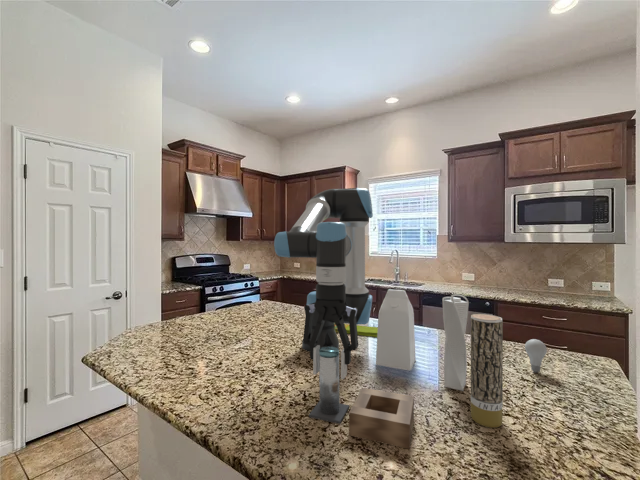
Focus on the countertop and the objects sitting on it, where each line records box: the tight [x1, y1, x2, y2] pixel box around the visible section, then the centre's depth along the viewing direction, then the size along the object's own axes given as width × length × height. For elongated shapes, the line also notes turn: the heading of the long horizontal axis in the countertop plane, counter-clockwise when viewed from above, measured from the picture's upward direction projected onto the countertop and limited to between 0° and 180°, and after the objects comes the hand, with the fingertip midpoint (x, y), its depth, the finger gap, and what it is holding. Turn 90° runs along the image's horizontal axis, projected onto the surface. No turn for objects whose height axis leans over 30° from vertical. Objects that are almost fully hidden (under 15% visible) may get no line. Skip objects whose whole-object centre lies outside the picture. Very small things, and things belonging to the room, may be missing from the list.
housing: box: [348, 387, 415, 450], centre depth 73 cm, size 13×13×5 cm
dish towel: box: [335, 323, 378, 339], centre depth 155 cm, size 15×36×3 cm, turn 67°
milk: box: [375, 289, 417, 372], centre depth 113 cm, size 12×12×26 cm
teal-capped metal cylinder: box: [318, 347, 341, 415], centre depth 79 cm, size 5×5×15 cm
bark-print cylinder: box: [470, 313, 504, 429], centre depth 76 cm, size 7×7×25 cm
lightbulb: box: [524, 338, 548, 373], centre depth 105 cm, size 6×6×11 cm
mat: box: [308, 400, 350, 425], centre depth 79 cm, size 8×8×1 cm
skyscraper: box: [442, 293, 470, 392], centre depth 95 cm, size 8×8×28 cm
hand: (330, 374), depth 79 cm, fingers open, 7 cm apart
